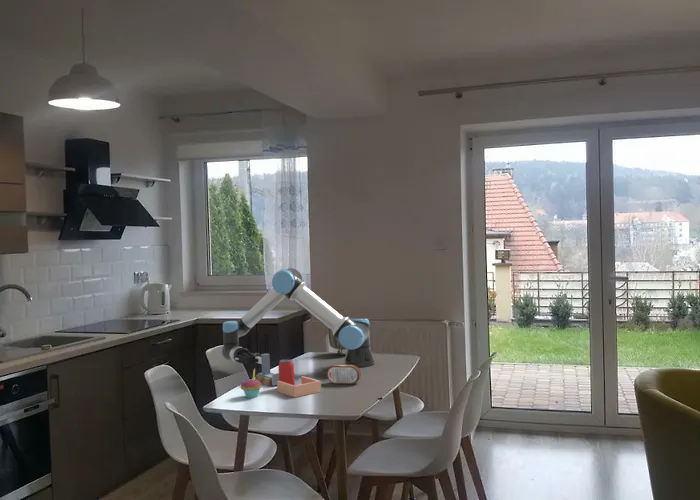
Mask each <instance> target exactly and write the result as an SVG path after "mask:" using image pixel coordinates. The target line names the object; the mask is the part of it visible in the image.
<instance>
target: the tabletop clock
mask: <svg viewBox="0 0 700 500" xmlns="http://www.w3.org/2000/svg"><path fill="white" fill-rule="evenodd" d="M336 311H337V312H338V313H339V312H340V311H341V312H345V315H344V314H341V315H342V316H343V317H347V316H348V312H347V311H346V310H345V309H341V308H340V309H338V310H336ZM328 342H329V343H328V344H329V347H331V348H333V349H335V350H337V353H338V354H339V356H343V350H347V349H346V348H344V347H343V346H342V345H341V344H340V342H339V340H338V339H337V338H336V337H334V336H333V331H332V330H331V329H330V328H328Z"/></svg>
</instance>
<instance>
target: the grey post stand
mask: <svg viewBox="0 0 700 500" xmlns="http://www.w3.org/2000/svg"><path fill="white" fill-rule="evenodd" d="M261 362H262V364H261V372H259V373H257V375H260V376H263V377H267V378H270V379H272V385H274V386H277V381H279V372H277V373H273V374H272V372H271V359H270V353H261Z"/></svg>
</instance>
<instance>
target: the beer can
mask: <svg viewBox="0 0 700 500" xmlns="http://www.w3.org/2000/svg"><path fill="white" fill-rule="evenodd" d="M278 373H279V381H281V382H285V383H288V384H291V385H294V386H296V385H295V382H296V381H295V365H294V362H293V360H292V359H290V358H286V359H280V360H279V363H278Z"/></svg>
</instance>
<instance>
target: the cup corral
mask: <svg viewBox="0 0 700 500" xmlns="http://www.w3.org/2000/svg"><path fill="white" fill-rule="evenodd" d="M300 378H301V379H300V380H301V381H300V382H301V384H297V385H295V386H294V385H291V384H288V383H285V382H281V381H277V385H276V391H277V393H280V394H283V395H286V396H290V397H291V398H292V397H293V398H299V397H304V396H308V395H313V394H316V393H321V392H322V381H321V380H318V379H314V378H312V377H307V376H304V375H303V376H300Z"/></svg>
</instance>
